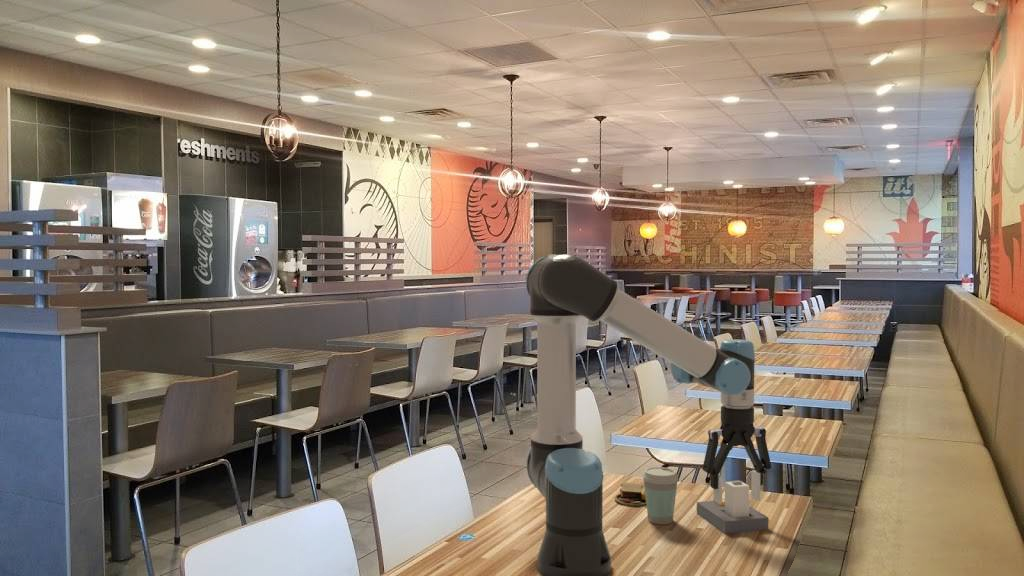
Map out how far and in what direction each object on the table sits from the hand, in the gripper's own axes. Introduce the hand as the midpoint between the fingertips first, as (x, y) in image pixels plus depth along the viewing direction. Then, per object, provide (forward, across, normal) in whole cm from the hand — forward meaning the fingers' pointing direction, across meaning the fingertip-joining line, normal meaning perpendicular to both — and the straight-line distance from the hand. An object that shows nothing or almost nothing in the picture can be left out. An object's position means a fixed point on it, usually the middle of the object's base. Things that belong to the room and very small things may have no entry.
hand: (736, 500), depth 175 cm
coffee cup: (+6, -16, +8) cm, 19 cm away
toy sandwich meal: (+7, -17, +23) cm, 29 cm away
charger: (+6, 0, 0) cm, 6 cm away
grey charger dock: (+6, 0, +2) cm, 7 cm away
